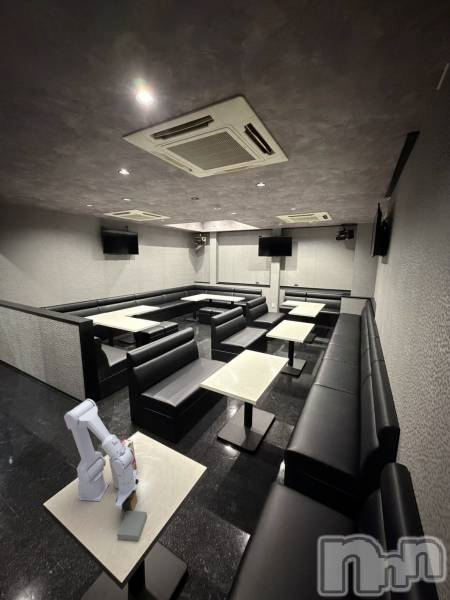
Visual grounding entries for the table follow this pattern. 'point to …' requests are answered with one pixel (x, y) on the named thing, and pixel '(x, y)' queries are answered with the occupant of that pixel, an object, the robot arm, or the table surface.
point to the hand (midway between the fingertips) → (129, 503)
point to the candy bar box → (130, 444)
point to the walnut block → (132, 501)
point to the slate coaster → (132, 525)
